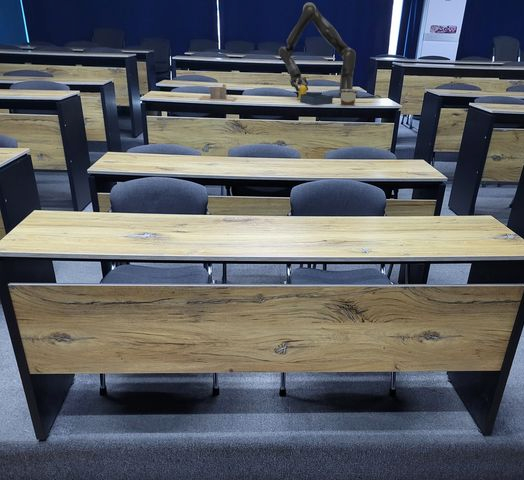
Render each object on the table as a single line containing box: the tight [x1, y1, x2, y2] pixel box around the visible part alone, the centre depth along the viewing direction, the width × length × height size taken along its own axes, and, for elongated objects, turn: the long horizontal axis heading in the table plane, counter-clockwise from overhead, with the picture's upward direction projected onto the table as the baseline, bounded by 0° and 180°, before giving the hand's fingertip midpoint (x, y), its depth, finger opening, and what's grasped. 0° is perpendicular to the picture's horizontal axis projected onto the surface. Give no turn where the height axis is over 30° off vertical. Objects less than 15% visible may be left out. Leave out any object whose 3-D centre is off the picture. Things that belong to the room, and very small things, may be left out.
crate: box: [299, 92, 334, 106], centre depth 378 cm, size 18×16×5 cm
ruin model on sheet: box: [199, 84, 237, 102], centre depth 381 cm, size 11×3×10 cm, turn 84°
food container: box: [340, 88, 358, 107], centre depth 372 cm, size 12×6×10 cm, turn 84°
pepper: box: [297, 84, 308, 101], centre depth 387 cm, size 6×6×11 cm
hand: (302, 90), depth 387 cm, fingers open, 8 cm apart
